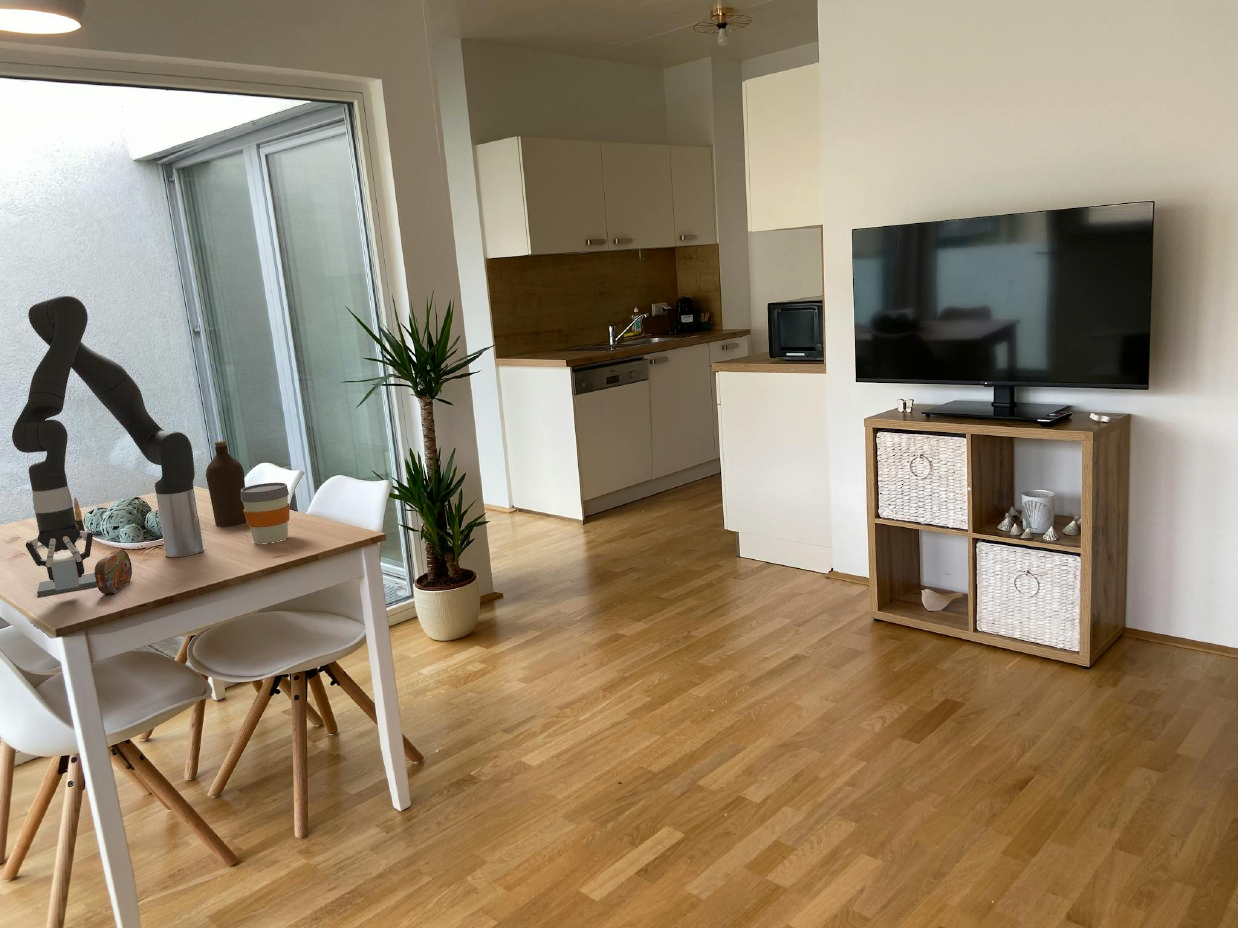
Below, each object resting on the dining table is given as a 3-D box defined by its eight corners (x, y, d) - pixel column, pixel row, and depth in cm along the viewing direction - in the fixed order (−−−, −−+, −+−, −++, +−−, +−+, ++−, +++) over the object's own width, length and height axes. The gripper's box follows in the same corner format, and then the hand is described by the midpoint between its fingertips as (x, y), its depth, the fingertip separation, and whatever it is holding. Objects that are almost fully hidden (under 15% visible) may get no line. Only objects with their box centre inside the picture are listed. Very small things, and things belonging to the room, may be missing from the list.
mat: (100, 576, 236) (99, 571, 236) (99, 585, 229) (99, 580, 228) (40, 586, 231) (39, 582, 230) (38, 596, 223) (37, 591, 223)
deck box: (80, 575, 223) (75, 550, 222) (79, 586, 214) (74, 560, 213) (58, 579, 221) (53, 554, 219) (55, 590, 212) (50, 564, 211)
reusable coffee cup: (237, 545, 258) (229, 492, 255) (265, 533, 270) (258, 482, 267) (276, 546, 255) (269, 492, 252) (303, 533, 266) (296, 482, 264)
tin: (110, 597, 218) (104, 563, 217) (96, 599, 218) (89, 564, 217) (135, 578, 233) (129, 545, 232) (121, 579, 233) (116, 546, 231)
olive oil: (236, 527, 280) (224, 444, 275) (205, 527, 282) (193, 445, 278) (257, 518, 290) (246, 438, 285) (228, 518, 292) (216, 438, 288)
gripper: (89, 499, 220) (102, 568, 224) (18, 509, 214) (33, 581, 217) (89, 504, 214) (102, 576, 217) (15, 516, 207) (30, 589, 211)
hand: (67, 578), depth 217 cm, fingers closed on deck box, 4 cm apart
